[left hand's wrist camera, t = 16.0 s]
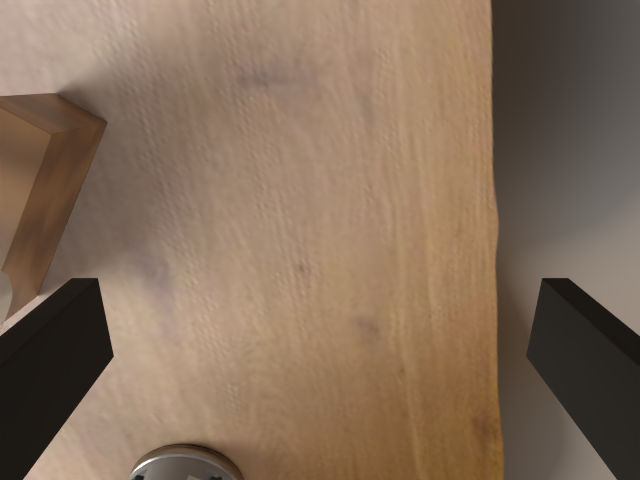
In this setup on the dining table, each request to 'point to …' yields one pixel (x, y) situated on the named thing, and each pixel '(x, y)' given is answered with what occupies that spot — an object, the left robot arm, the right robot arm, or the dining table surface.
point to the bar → (39, 182)
